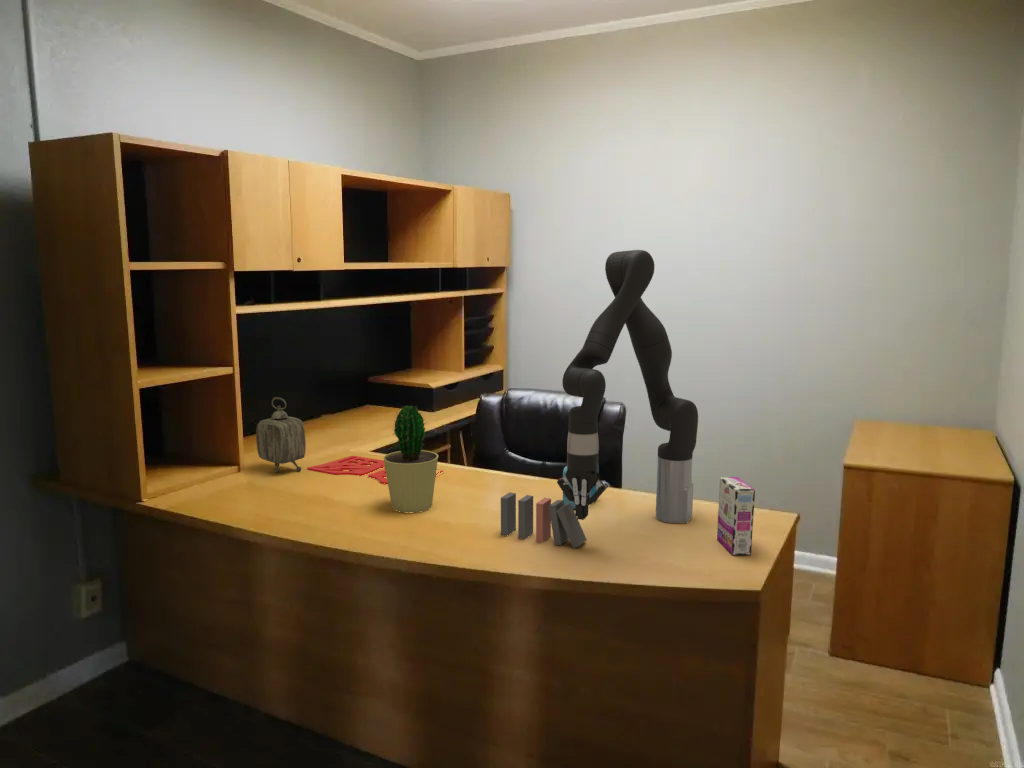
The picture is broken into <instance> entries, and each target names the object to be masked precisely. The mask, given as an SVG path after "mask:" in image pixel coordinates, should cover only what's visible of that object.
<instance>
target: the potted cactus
mask: <svg viewBox="0 0 1024 768" xmlns="http://www.w3.org/2000/svg"><path fill="white" fill-rule="evenodd" d="M418 405H419V404H418ZM418 405H415V406H414V405H413V404H411V405H409V406H408V405H405V406H401V409H400V408H399V409H398V410H399V411H398V412H395V413H396V414H395V415H396V416H395V415H393V418H394V426H393V428H390V429H391V430H393V433H392V435H393V436H395V438H397V441H396V443H397V444H398V448H399V450H398V451H394V452H390V453H388V454H385V455H384V456H383V460H384V465H385V468H384V469H385V470H386V476H387V478H386V479H387V482H388V485H387V486H388V491H389V493H388V494H389V497H390V502H391V503H390V504H391V508H392V510H393V509H394V510H393V511H395V510H397V511H400V512H399V513H401V512H419V513H421V512H420V511H423V512H426V511H425V510H427V509H429V508H430V509H431V508H432V507H431V506H433V500H434V493H435V492H434V491H435V484H436V478H437V477H436V470H438V460H439V454H438V453H436V452H435V451H434V452H433V451H431V450H425V449H423V446H424V443H423V441H424V440H425V434H426V430H427V429H428V427H425V424H427V422H426V423H424V422H425V420H426V419H424V416H423V415H422V413H421V412H420V410H419V409H418V408H419V407H418ZM430 509H429V510H430ZM397 511H396V512H397ZM427 511H428V510H427Z"/></svg>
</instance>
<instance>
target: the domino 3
mask: <svg viewBox="0 0 1024 768" xmlns="http://www.w3.org/2000/svg"><path fill="white" fill-rule="evenodd" d="M551 504H552V499H551V498H548V497H544V498H542V499H540V500H538V501H537V502H536V503H535V508H536V509H535V511H536V512H535V542H536V541H537V542H538V543H541V542H542V544H543V543H545V542H546V541H547V540H548V539H549V538H551V537H552V524H551V517H550V511H549V505H551Z"/></svg>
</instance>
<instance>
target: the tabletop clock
mask: <svg viewBox="0 0 1024 768" xmlns="http://www.w3.org/2000/svg"><path fill="white" fill-rule="evenodd" d="M275 400H280V401H282V402H283V403H284V407H281V405H277V406H275V405H274V401H275ZM271 406H272V407H273V408H274V409H275V411H274V412H273V413H272V414H271V417H270V418H266V419H262V420H260V421H259V422H258V423H256V429H255V430H256V431H255V432H256V433H255V434H256V438H255V440H256V450H257V454H258V457H259V458H260V459H262V460H265V461H267V462H269V463H273V464H274V466H275V468H274V469H273V470H274V473H279V472H280V468H279V467H280V464H281V465H285V464H288V463H291V464H293V465H294V466H295V467H296V471H297V472H301V471H302V467H301V466H299V465H298V464H297V462H296V461H299V460H302V459H304V458H305V456H306V446H307V444H306V443H307V441H306V430H305V426H304V422H303V421H302V420H301V419H300V418H297V417H293V416H289V415H288V413H287V412H286V411H284V410H286V408H287V401H286V400H285V399H284V398H283V397H278V396H275V397H273V398H272V400H271Z"/></svg>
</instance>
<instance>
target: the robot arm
mask: <svg viewBox="0 0 1024 768" xmlns="http://www.w3.org/2000/svg"><path fill="white" fill-rule="evenodd" d="M604 267H605V268H604V270H605V277H606V280H607V283H608V285H609V287H610V290H611V291H612V294H613V296H614V299H613V300H612V301H611V303H609V305H607V307H606V308H605V309H604V310H603V311H602V312H601V313H600V314H599V316H598V317H596V319H595V320H594V322H593V323H592V325H591V327H590V329H589V332H588V334H587V337H586V338H585V341H584V344H583V346H582V348H581V349H580V351H579V352H578V353H577V354H576V355H575V357H574V358H573V359H572V360H571V362H570V363H569V365H568V366H567V368H565V371H564V373H563V375H562V376H563V377H562V379H561V380H562V389H563V390H564V392H565V393H566V394H567V395H569V396H572V397H578V398H582V402H581V405H578V406H574V407H573V406H572V408H570V410H569V412H568V433H567V441H566V442H567V446H566V447H567V448H566V449H567V452H566V456H567V457H566V466H567V472H566V474H565V477H563V476H562V477H560V478H559V479H558V480H557V482H556V484H557V485H558V487H559V488H560V490H561V491H562V494H563V493H564V494H565V496H566V497H567V499H568V500H569V501H573V502H574V503H575V509H574V512H575V515H576V517H577V519H578V520H582V521H584V520H585V519H586V518H587V517H588V516H589V505H593V503H595V502H597V500H598V499H599V498H600V496H601V495H602V494H603V493H604V492H605V491H606V490H607V488H608V487H609V486H608V484H607V483H604V482H603V481H602V480H601V478H600V475H599V474H600V473H599V474H598V464H599V450H600V446H599V443H600V442H599V434H598V429H599V428H598V426H599V413H600V410H601V407H602V402H603V400H604V396H605V392H606V389H607V387H606V386H607V385H606V382H607V381H606V378H605V376H604V374H603V373H602V372H601V371H600V370H598V369H594V368H596V367H597V366H600V365H604V364H605V365H606V364H607V363H608V362H609V361H610V358H611V356H612V354H613V353H614V349H615V347H616V344H617V342H618V340H619V337H620V335H621V332H622V330H623V328H624V326H626V330H627V331H628V334H629V338H630V341H631V345H632V348H633V351H634V354H635V357H636V360H637V362H638V365H639V368H640V372H641V376H642V378H643V381H644V384H645V389H646V392H647V396H648V397H647V398H648V402H649V407H650V411H651V417H652V418H653V421H654V423H655V425H656V426H657V427H658V428H660V429H661V430H664V431H668V432H669V440H668V442H663V443H661V444H660V445H659V444H658V447H657V461H656V462H657V464H656V490H655V491H656V494H655V496H656V497H655V518H656V519H657V520H658V521H661V522H663V523H668V524H688V523H687V522H689V521H690V520H691V519H692V518H693V505H694V504H693V503H694V483H693V482H692V479H693V478H692V477H693V476H692V474H693V458H694V457H693V454H694V450H695V448H696V446H697V435H698V426H699V425H698V424H699V412H698V408H697V406H696V404H695V403H694V402H693V401H691V400H689V399H685V398H680V397H676V395H674V393H673V390H672V387H671V385H670V381H669V371H670V366H671V363H672V357H673V350H672V345H671V342H670V339H669V335H668V333H667V330H666V328H665V326H664V324H663V323H662V321H661V320H660V319H659V317H657V316H656V315H655V314H654V312H653V311H652V310H651V309H650V308H649V306H647V305H646V304H645V303H646V302H644V300H643V298H642V296H643V294H644V293H645V291H646V290H647V288H648V287H649V286H650V285H649V284H650V283H651V282H652V279H653V277H654V274H655V268H656V267H655V260H654V259H653V257H652V255H651V254H650V252H648V251H646V250H645V249H644V250H643V249H633V250H622V251H614V252H612V253H610V254H609V255H608V256H607V258H606V261H605V266H604ZM569 483H570V485H571V486H572V488H573V490H572V488H571V487H570V486H569ZM596 484H597V486H596V489H597V491H596V492H595V493H594V494H593V496H592V497H591V498H590V493H591V489H592V488H593V487H594V486H595V485H596ZM588 504H589V505H588ZM691 517H692V518H691ZM690 518H691V519H690ZM689 519H690V520H689Z"/></svg>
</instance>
